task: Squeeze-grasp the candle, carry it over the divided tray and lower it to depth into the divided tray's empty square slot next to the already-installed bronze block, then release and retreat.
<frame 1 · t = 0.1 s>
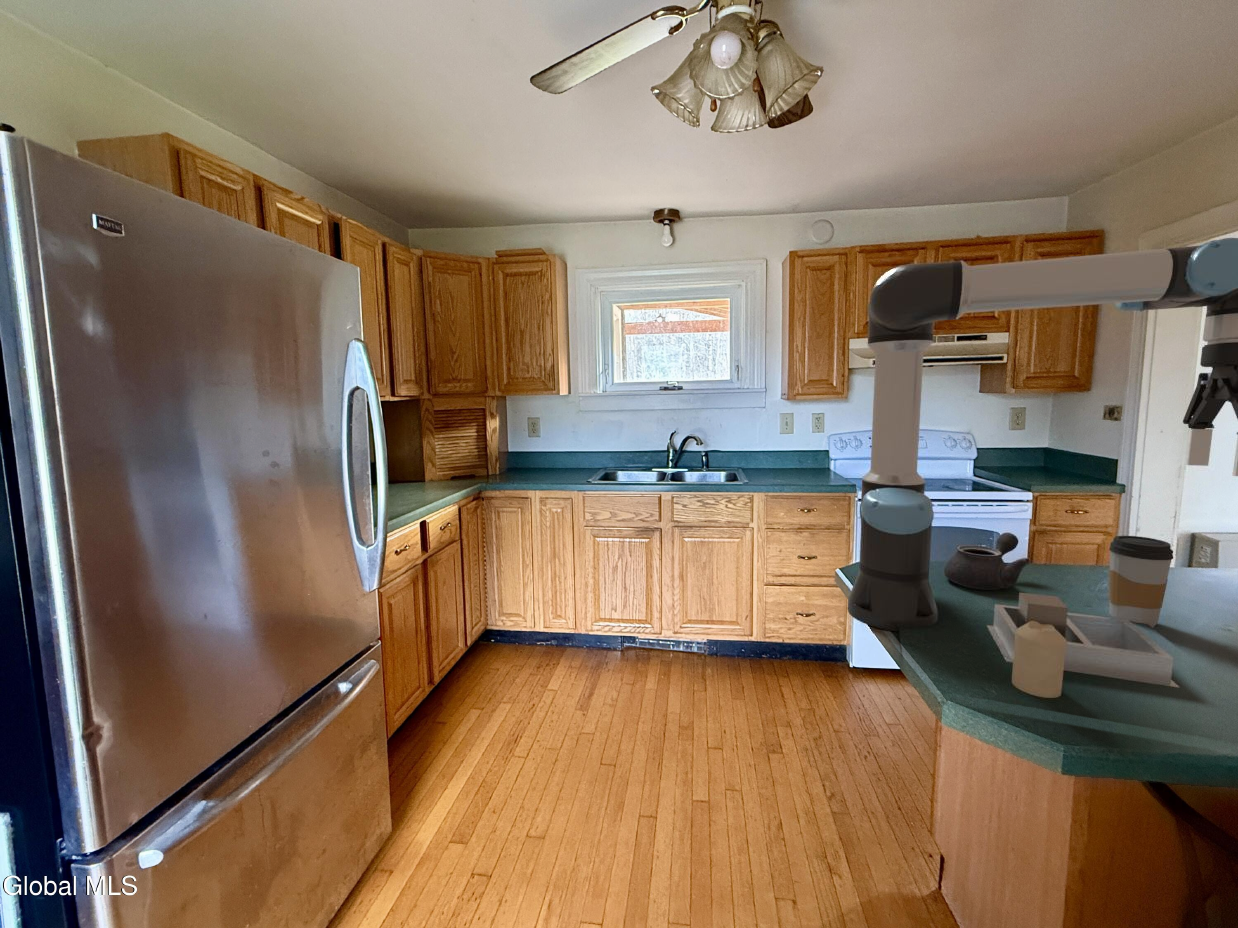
hand: (1219, 470, 92), 28 cm above the countertop, fingers open, 13 cm apart
divided tray: (1070, 658, 86), on the countertop
coffee cup: (1132, 622, 99), on the countertop
installed block: (1038, 647, 87), point 1 cm above the countertop, touching divided tray
candle: (1035, 694, 76), on the countertop
teapot: (989, 583, 120), on the countertop
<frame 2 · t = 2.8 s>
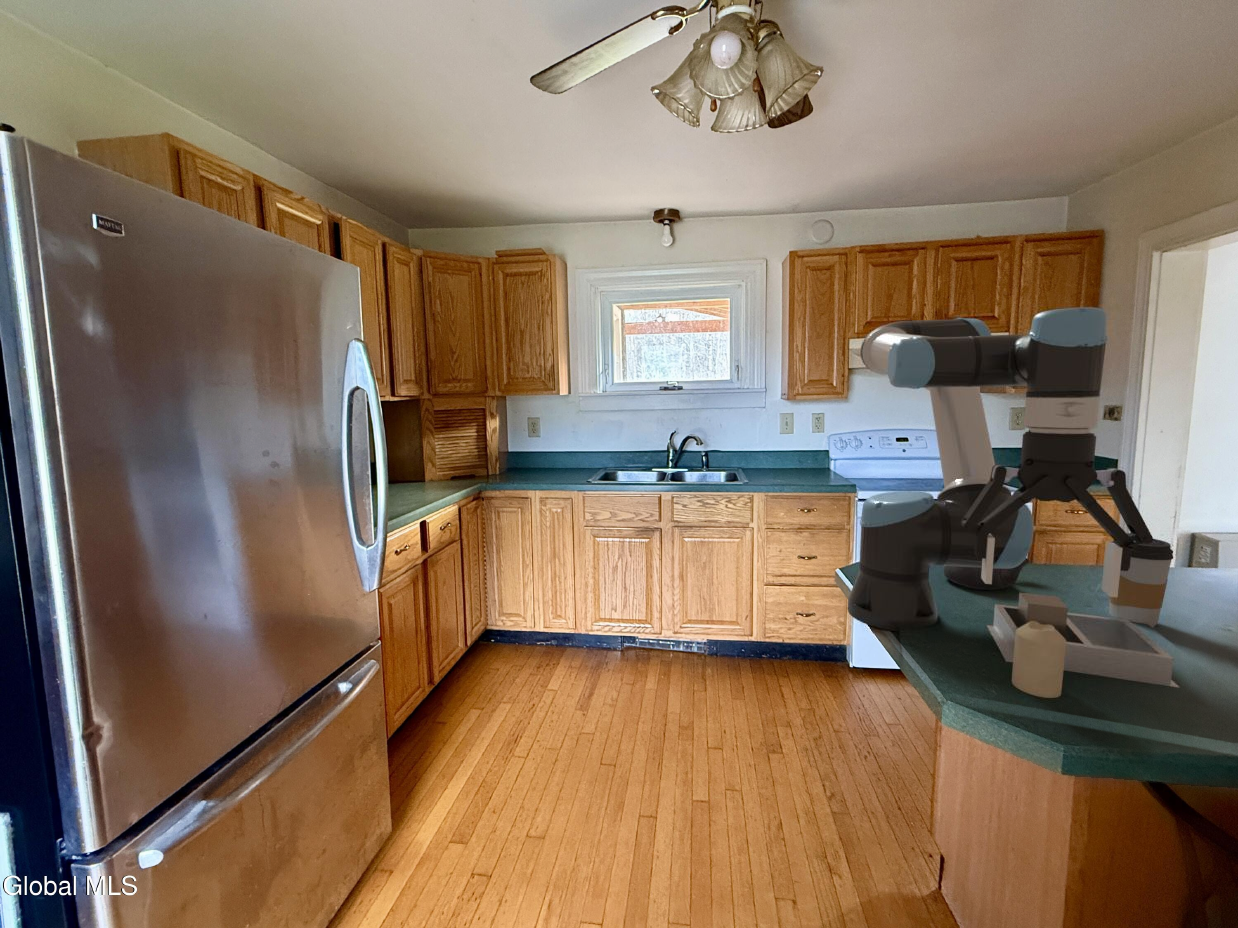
hand: (1045, 587, 74), 15 cm above the countertop, fingers open, 13 cm apart
nothing on the countertop moved.
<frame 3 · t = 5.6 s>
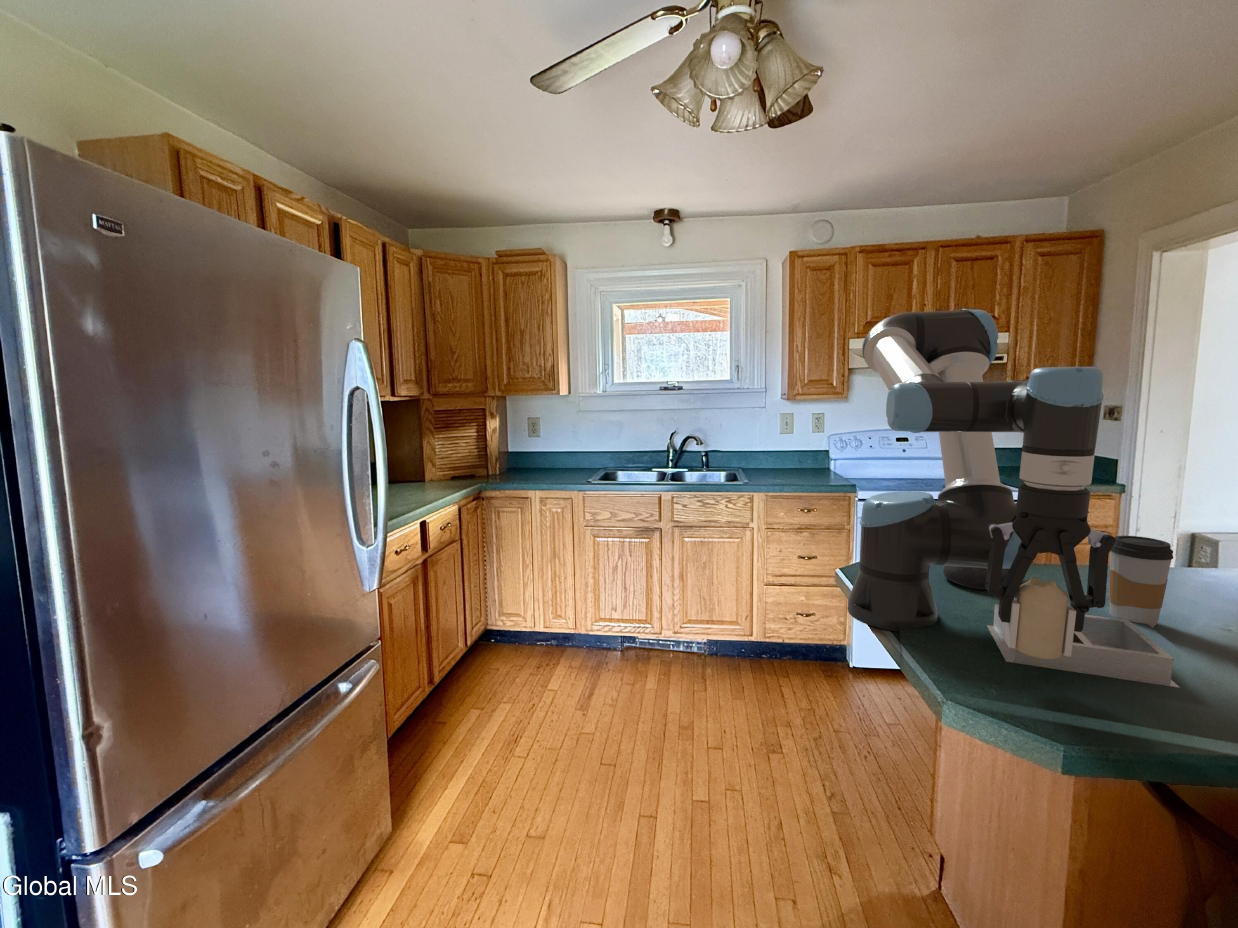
hand: (1036, 647, 76), 6 cm above the countertop, fingers closed on candle, 5 cm apart
candle: (1036, 651, 76), point 6 cm above the countertop, touching gripper
everything else where it was.
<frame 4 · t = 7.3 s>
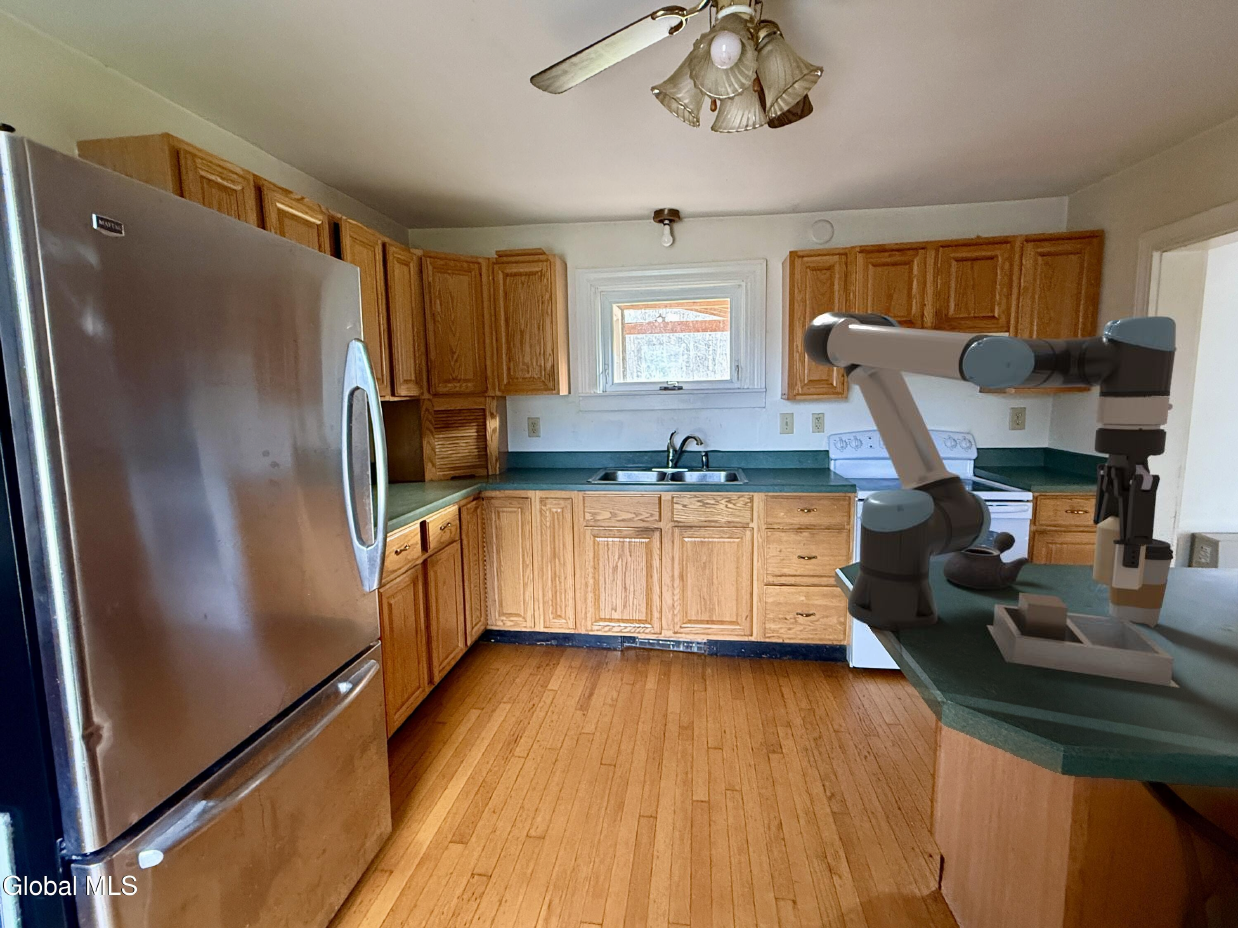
hand: (1115, 580, 82), 13 cm above the countertop, fingers closed on candle, 5 cm apart
candle: (1116, 584, 82), point 13 cm above the countertop, touching gripper
everything else where it was.
when the fingers open (2 cm above the countertop, at t = 9.1 s): candle stays where it is, resting on divided tray.
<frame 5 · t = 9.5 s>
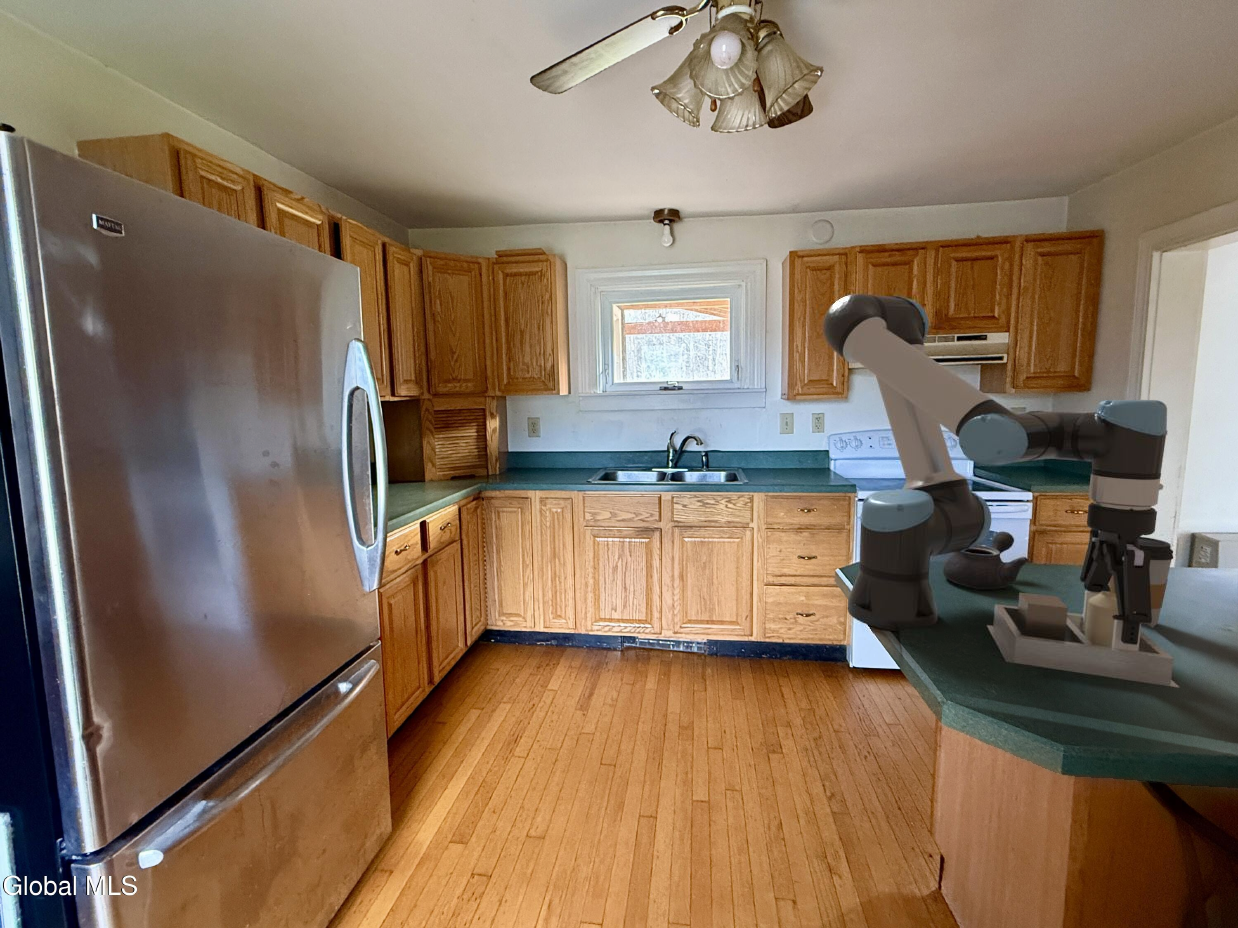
hand: (1107, 645, 84), 3 cm above the countertop, fingers open, 10 cm apart
candle: (1106, 658, 84), point 1 cm above the countertop, touching divided tray
everything else where it was.
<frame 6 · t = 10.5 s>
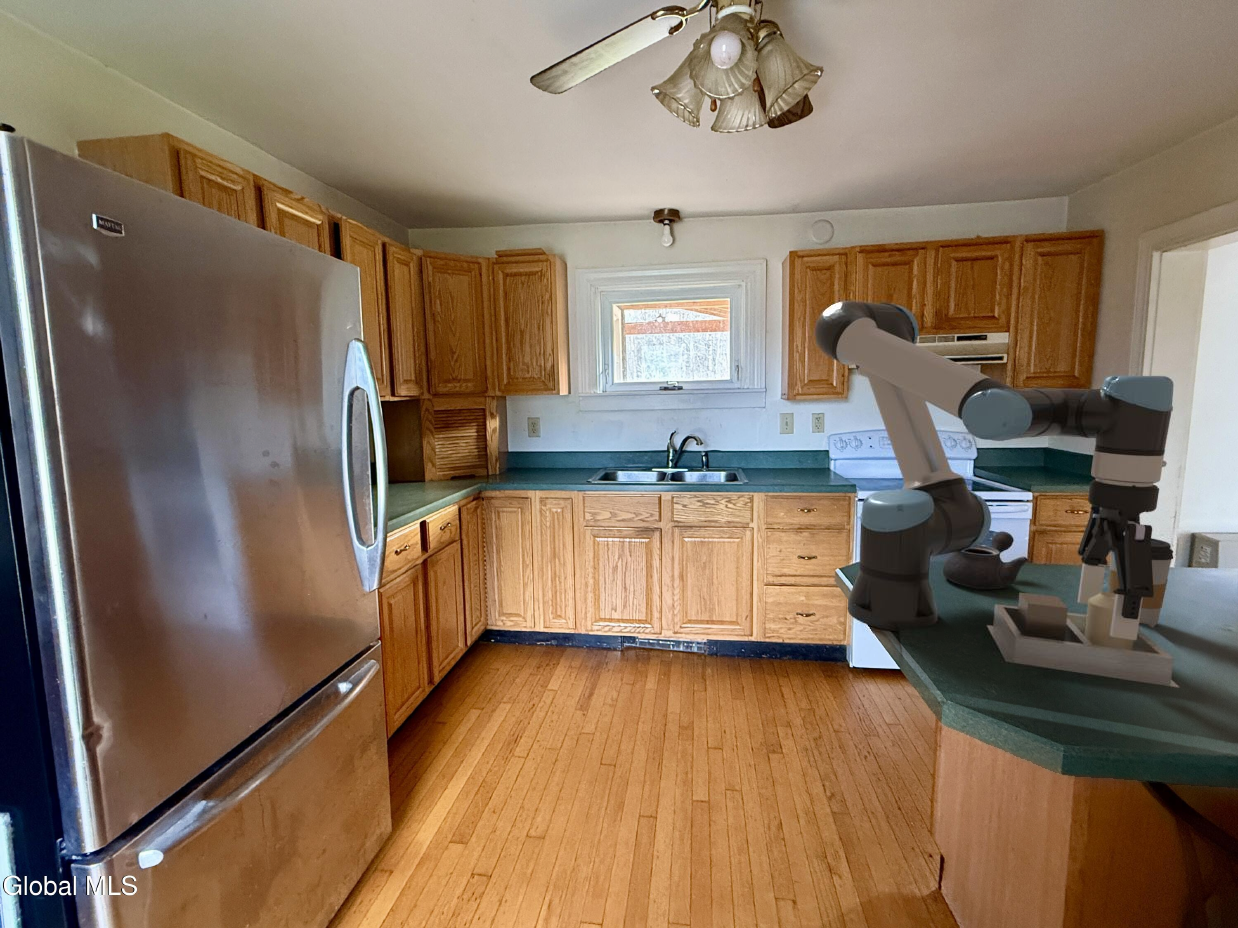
hand: (1104, 619, 84), 7 cm above the countertop, fingers open, 12 cm apart
nothing on the countertop moved.
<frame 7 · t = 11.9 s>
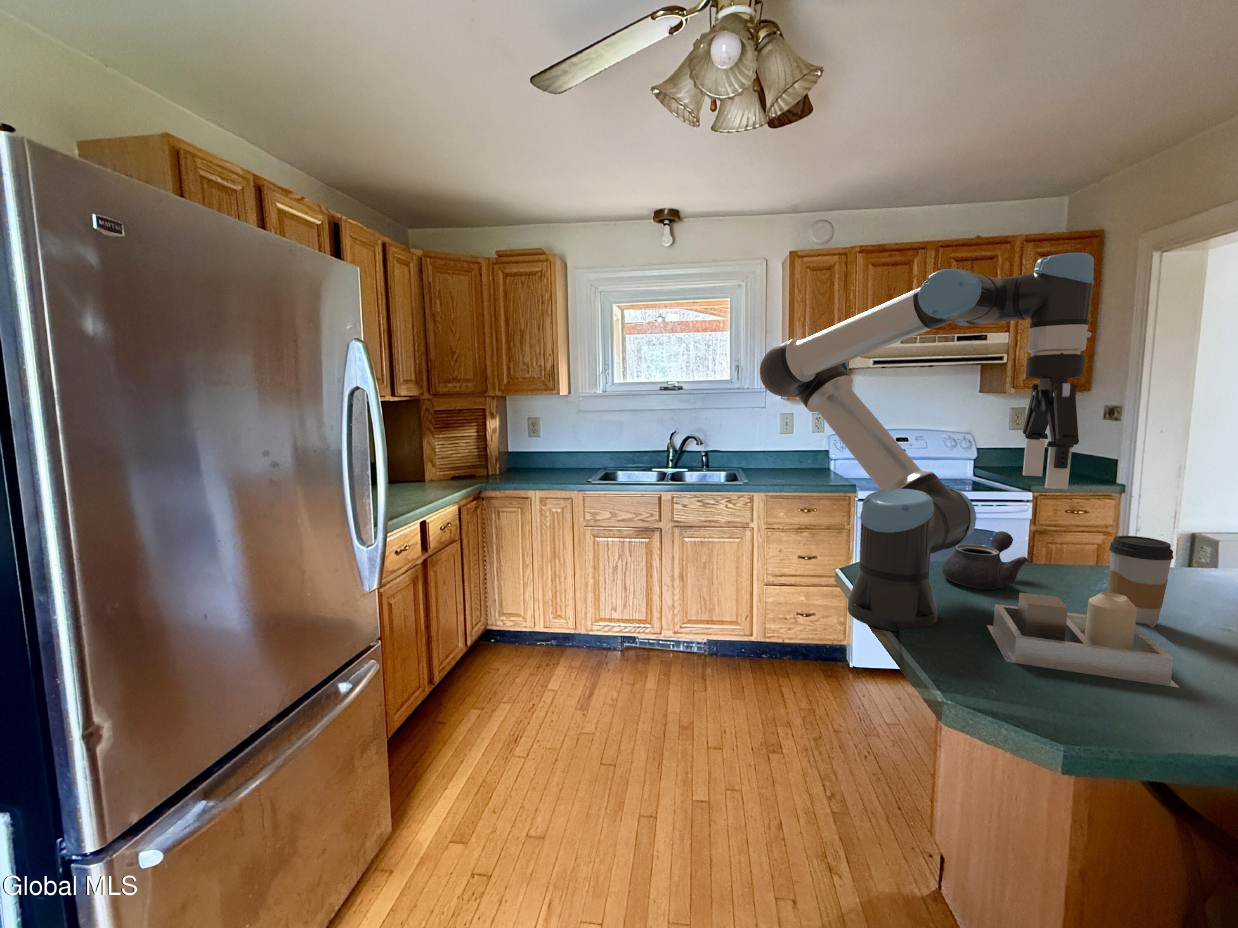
hand: (1043, 481, 92), 26 cm above the countertop, fingers open, 13 cm apart
nothing on the countertop moved.
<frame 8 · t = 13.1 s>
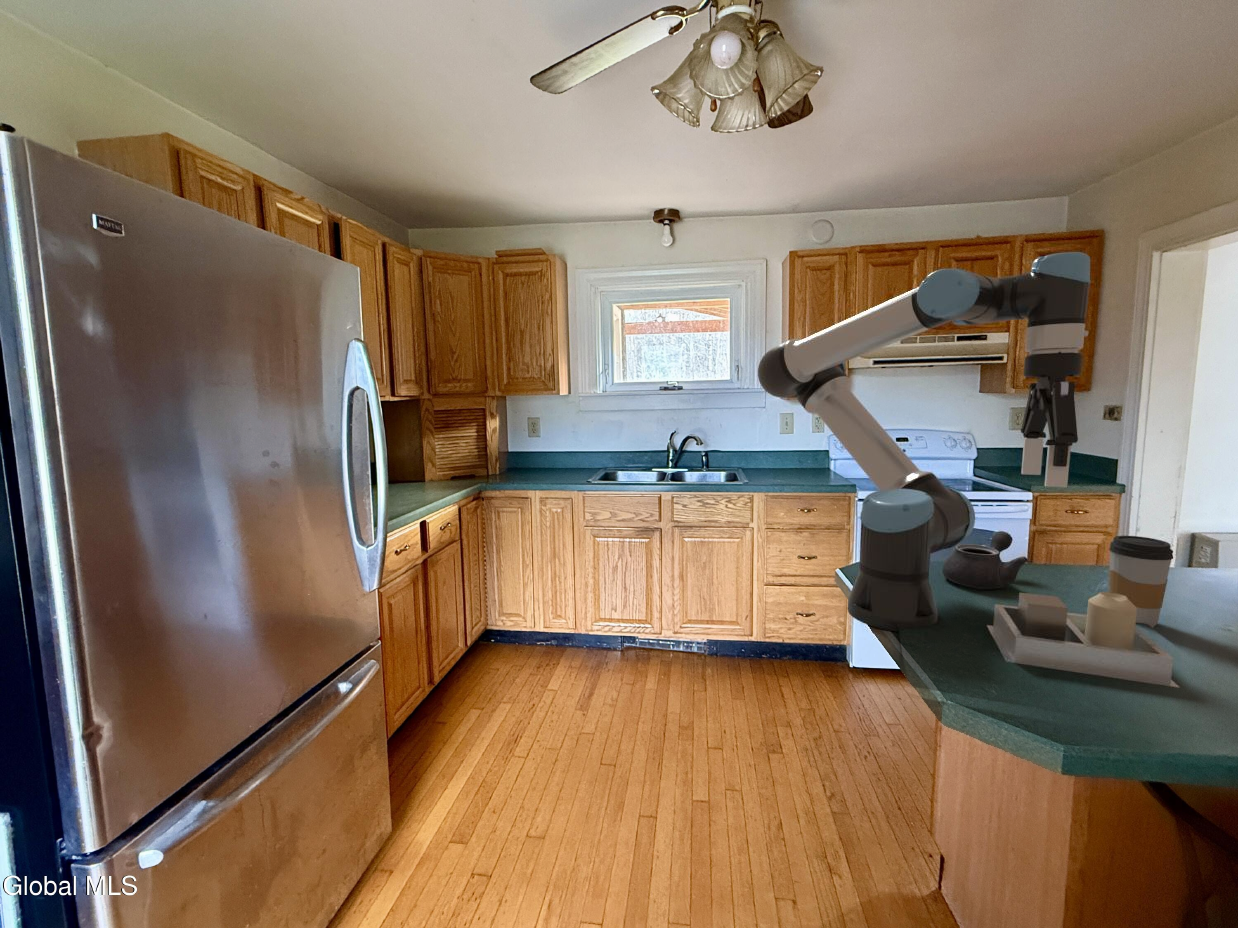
hand: (1042, 480, 93), 27 cm above the countertop, fingers open, 13 cm apart
nothing on the countertop moved.
at the end: candle 0.0 cm from the target spot on the divided tray, point 0.8 cm above the divided tray's base; candle tilted 0°; the gripper is holding nothing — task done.
